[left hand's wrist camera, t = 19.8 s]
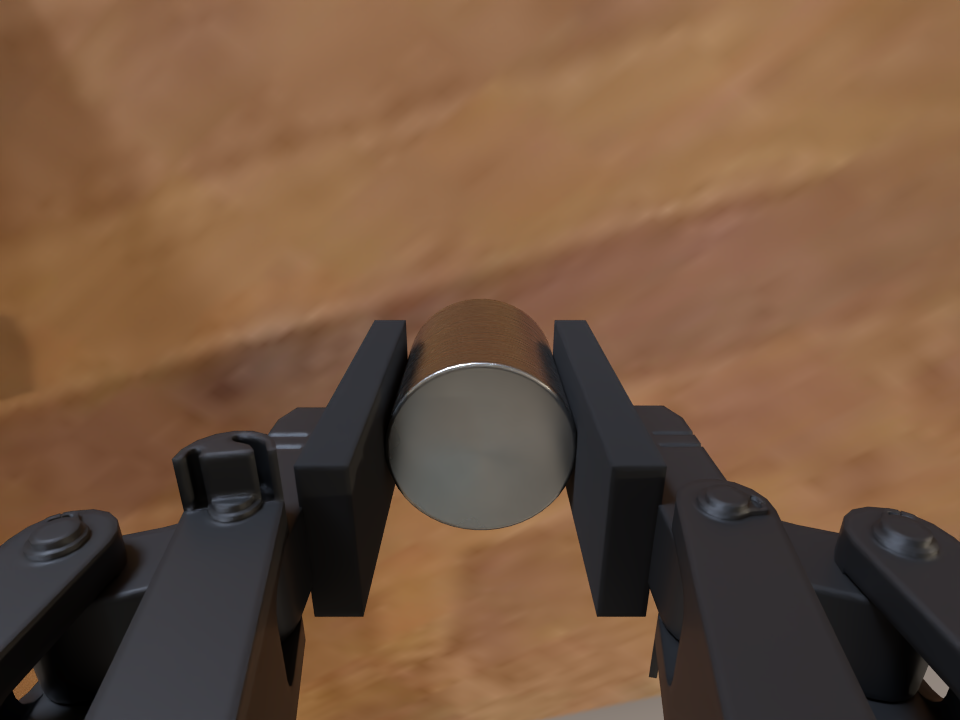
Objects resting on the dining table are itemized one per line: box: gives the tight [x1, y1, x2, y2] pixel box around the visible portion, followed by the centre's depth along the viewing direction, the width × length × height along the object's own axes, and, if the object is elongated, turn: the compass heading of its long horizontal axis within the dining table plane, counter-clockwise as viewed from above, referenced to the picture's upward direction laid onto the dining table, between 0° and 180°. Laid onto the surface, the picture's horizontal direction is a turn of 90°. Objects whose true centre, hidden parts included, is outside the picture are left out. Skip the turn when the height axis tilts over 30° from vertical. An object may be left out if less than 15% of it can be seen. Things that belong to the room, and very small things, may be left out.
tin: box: [385, 299, 577, 530], centre depth 13 cm, size 4×4×4 cm
